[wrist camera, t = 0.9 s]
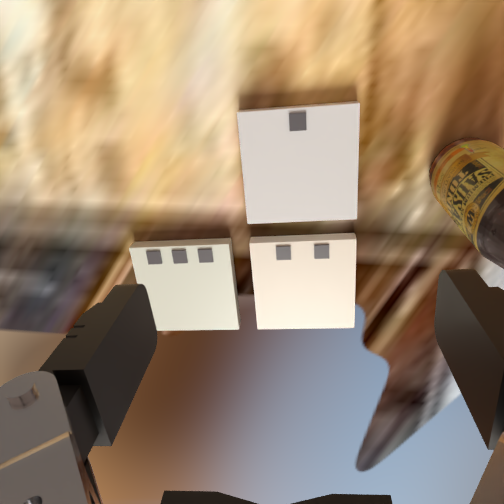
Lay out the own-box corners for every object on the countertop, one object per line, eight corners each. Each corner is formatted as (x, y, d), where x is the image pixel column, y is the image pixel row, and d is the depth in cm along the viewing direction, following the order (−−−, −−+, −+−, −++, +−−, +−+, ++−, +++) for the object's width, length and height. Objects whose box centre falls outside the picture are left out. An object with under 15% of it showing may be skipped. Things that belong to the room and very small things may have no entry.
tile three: (134, 241, 43) (128, 248, 41) (230, 237, 42) (228, 244, 40) (152, 322, 47) (147, 331, 46) (240, 321, 46) (238, 330, 45)
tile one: (239, 110, 36) (236, 112, 35) (357, 101, 35) (360, 103, 34) (249, 218, 41) (247, 224, 39) (354, 213, 39) (357, 219, 38)
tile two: (250, 236, 42) (249, 244, 40) (354, 232, 40) (356, 240, 39) (258, 320, 46) (257, 330, 44) (352, 319, 45) (354, 329, 43)
